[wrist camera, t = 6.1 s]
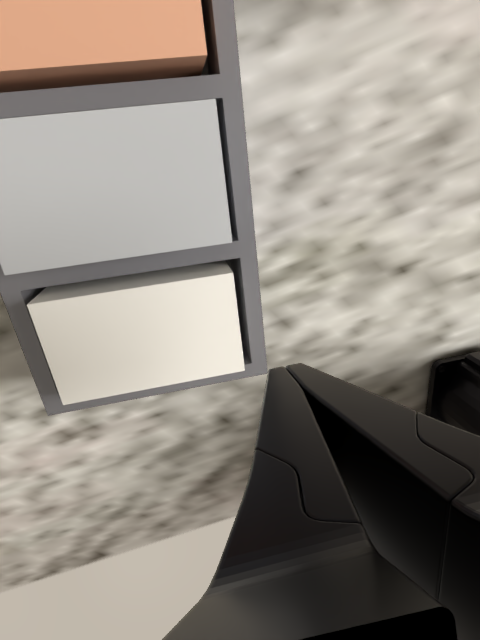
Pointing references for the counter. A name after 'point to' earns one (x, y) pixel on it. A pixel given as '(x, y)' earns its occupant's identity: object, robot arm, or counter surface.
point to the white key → (139, 330)
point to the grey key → (110, 185)
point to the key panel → (240, 254)
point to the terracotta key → (98, 42)
